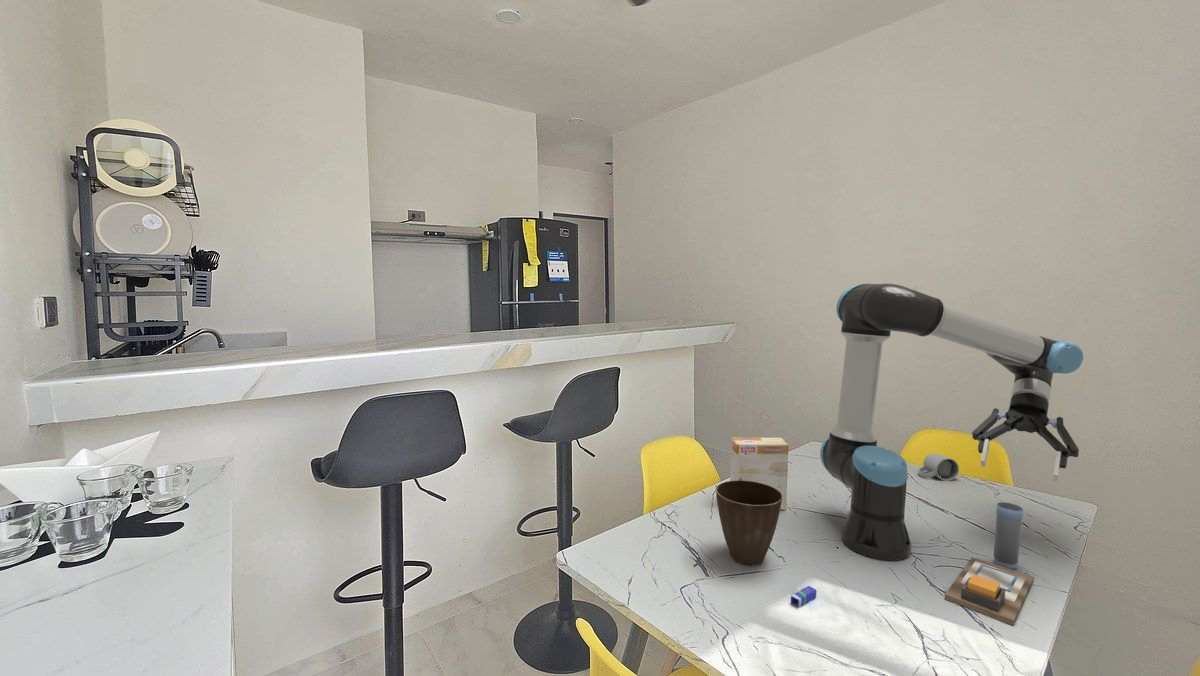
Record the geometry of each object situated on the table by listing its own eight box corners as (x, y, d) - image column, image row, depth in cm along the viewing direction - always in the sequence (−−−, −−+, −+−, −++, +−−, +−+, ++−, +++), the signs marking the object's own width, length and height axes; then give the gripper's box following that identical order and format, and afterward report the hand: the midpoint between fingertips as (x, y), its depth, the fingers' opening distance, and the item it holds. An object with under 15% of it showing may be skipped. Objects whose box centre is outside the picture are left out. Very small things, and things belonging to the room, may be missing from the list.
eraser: (790, 604, 101) (790, 594, 101) (808, 594, 105) (808, 585, 105) (798, 609, 100) (798, 599, 100) (816, 599, 103) (817, 589, 103)
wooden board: (1013, 625, 95) (1014, 610, 94) (944, 598, 103) (945, 585, 103) (1033, 581, 109) (1034, 567, 109) (971, 560, 117) (972, 548, 117)
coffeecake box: (779, 500, 151) (781, 437, 149) (786, 510, 144) (789, 444, 142) (728, 499, 152) (730, 436, 150) (734, 509, 145) (736, 443, 143)
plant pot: (702, 547, 123) (703, 484, 122) (752, 537, 128) (754, 476, 127) (739, 580, 109) (741, 509, 108) (794, 567, 115) (796, 499, 113)
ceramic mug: (941, 472, 175) (942, 450, 174) (958, 481, 167) (960, 458, 166) (911, 472, 175) (912, 451, 174) (927, 481, 167) (928, 459, 166)
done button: (994, 601, 98) (995, 591, 98) (967, 591, 101) (967, 582, 101) (999, 592, 101) (1000, 583, 101) (972, 583, 104) (973, 574, 104)
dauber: (1004, 571, 113) (1009, 511, 112) (987, 560, 118) (991, 502, 116) (1023, 570, 114) (1028, 510, 112) (1005, 559, 118) (1010, 502, 117)
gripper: (1096, 416, 124) (1088, 492, 115) (971, 401, 141) (957, 465, 132) (1098, 399, 119) (1090, 476, 110) (969, 384, 137) (954, 450, 128)
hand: (1017, 470), depth 121 cm, fingers open, 13 cm apart
